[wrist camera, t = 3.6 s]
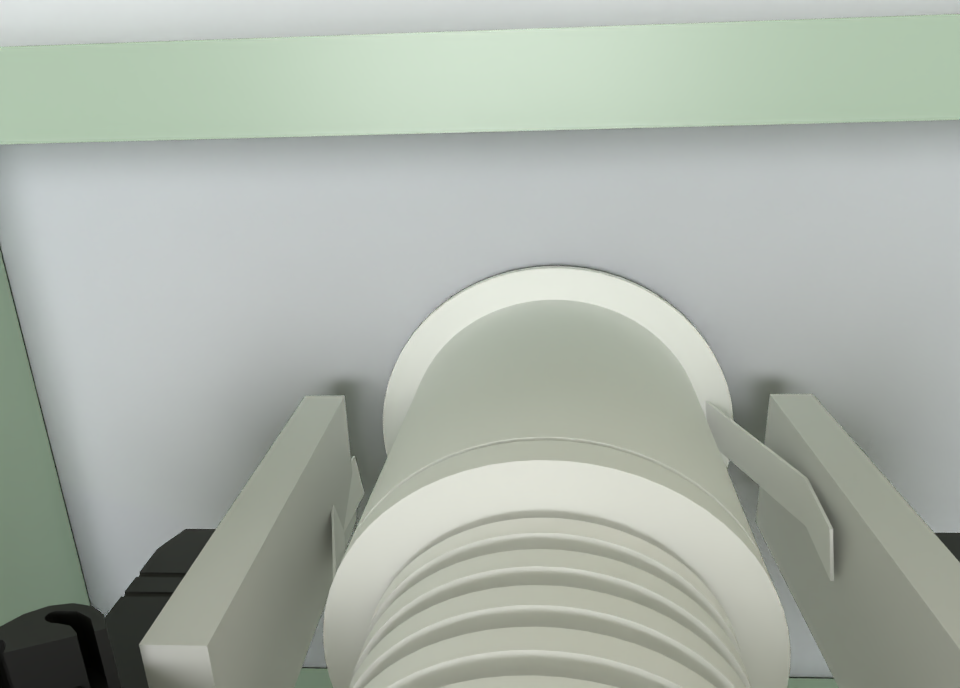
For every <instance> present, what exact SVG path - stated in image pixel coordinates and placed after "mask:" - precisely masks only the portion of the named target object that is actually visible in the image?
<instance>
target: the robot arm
mask: <svg viewBox="0 0 960 688" xmlns="http://www.w3.org/2000/svg"><path fill="white" fill-rule="evenodd" d="M764 445H765V446H767V447H768V448H769V449H771V450H772V451H773V452H774V453H776V454H777V455H778V456H780V457H781V458H782V459H784V460H785V461H786V462H787V463H789V464H790V465H791V466H793V467H794V468H795V469H797V470H798V471H799V472H800V473H802V474H803V475H804V476H806V477H807V478H808V480H809V482H810V484H811V486H812V488H813V490H814V492H815V494H816V496H817V498H818V500H819V502H820V504H821V506H822V508H823V510H824V512H825V514H826V516H827V518H828V520H829V522H830V524H831V526H832V528H833V551H834V581H830V579H829V577H828V575H827V572H826V570H825V568H824V566H823V563H822V561H821V559H820V557H819V555H818V552H817V550H816V548H815V546H814V543H813V541H812V539H811V537H810V534H809V532H808V530H807V528H806V526H805V525H804V524H803V523H801V522H800V521H799V520H798V519H797V518H796V517H795V516H793V515H792V514H791V513H790V512H789V511H788V510H787V509H785V508H784V507H783V506H782V505H781V504H780V503H779V502H777V501H776V500H775V499H774V498H773V497H772V496H771V495H769V494H768V493H767V492H766V491H765V490H764V489H763V488H761V487H760V486H759V495H758V503H757V512H756V521H755V522H756V524H757V526H758V528H759V530H760V532H761V534H762V536H763V538H764V540H765V542H766V544H767V546H768V548H769V550H770V552H771V554H772V556H773V558H774V560H775V562H776V564H777V566H778V568H779V570H780V572H781V574H782V576H783V578H784V580H785V582H786V584H787V586H788V588H789V590H790V592H791V594H792V596H793V598H794V600H795V602H796V604H797V606H798V608H799V610H800V612H801V614H802V615H803V617H804V619H805V621H806V623H807V625H808V627H809V629H810V631H811V633H812V635H813V637H814V639H815V641H816V643H817V645H818V647H819V649H820V651H821V653H822V655H823V657H824V659H825V661H826V663H827V665H828V667H829V669H830V671H831V673H832V675H833V677H834V679H835V681H836V683H837V685H838V687H839V688H960V533H934V532H933V531H932V530H931V529H930V528H929V527H928V526H927V524H926V523H925V522H924V521H923V520H922V519H921V518H920V516H919V515H918V514H917V513H916V512H915V511H914V510H913V508H912V507H911V506H910V505H909V504H908V503H907V501H906V500H905V499H904V498H903V497H902V496H901V495H900V493H899V492H898V491H897V490H896V489H895V488H894V487H893V485H892V484H891V483H890V482H889V481H888V480H887V479H886V477H885V476H884V475H883V474H882V473H881V472H880V471H879V469H878V468H877V467H876V466H875V465H874V464H873V463H872V461H871V460H870V459H869V458H868V457H867V456H866V455H865V453H864V452H863V451H862V450H861V449H860V448H859V447H858V445H857V444H856V443H855V442H854V441H853V440H852V439H851V437H850V436H849V435H848V434H847V433H846V432H845V431H844V429H843V428H842V427H841V426H840V425H839V424H838V423H837V421H836V420H835V419H834V418H833V417H832V416H831V414H830V413H829V412H828V411H827V410H826V409H825V408H824V406H823V405H822V404H821V403H820V402H819V401H818V400H817V398H816V397H815V396H814V395H813V394H770V397H769V406H768V415H767V424H766V433H765V442H764ZM351 478H352V464H351V454H350V444H349V434H348V424H347V414H346V404H345V395H326V396H305V397H304V398H303V400H302V401H301V403H300V404H299V406H298V407H297V409H296V410H295V412H294V413H293V415H292V416H291V418H290V419H289V421H288V422H287V424H286V425H285V427H284V428H283V430H282V431H281V433H280V434H279V436H278V437H277V439H276V440H275V442H274V443H273V445H272V446H271V448H270V449H269V451H268V452H267V454H266V455H265V457H264V458H263V460H262V461H261V463H260V464H259V466H258V467H257V469H256V470H255V472H254V473H253V475H252V476H251V478H250V479H249V481H248V482H247V484H246V485H245V487H244V488H243V490H242V491H241V493H240V494H239V496H238V497H237V499H236V500H235V502H234V503H233V505H232V506H231V508H230V509H229V511H228V512H227V513H226V515H225V516H224V518H223V519H222V521H221V522H220V524H219V525H218V527H217V528H216V529H185V530H184V531H182V532H181V533H179V534H178V535H177V536H175V537H174V538H172V539H171V540H169V541H168V542H167V543H165V544H164V545H162V546H161V547H160V548H158V549H157V550H156V552H155V553H154V554H153V556H152V557H151V558H150V559H149V561H148V562H147V563H146V565H145V566H144V567H143V569H142V570H141V571H140V576H139V577H136V578H135V579H134V580H133V582H132V583H131V584H130V586H129V587H128V588H127V590H126V591H125V596H124V597H121V598H120V599H119V600H118V601H117V603H116V604H115V605H114V607H113V608H112V609H111V611H110V612H109V613H108V615H107V616H106V617H104V615H103V614H102V613H101V612H99V611H98V610H97V609H95V608H94V607H93V606H88V605H82V604H76V603H69V604H60V605H52V606H47V607H44V608H41V609H38V610H35V611H31V612H28V613H25V614H23V615H21V616H19V617H17V618H15V619H13V620H11V621H10V622H8V623H6V624H4V625H2V626H0V688H294V687H295V684H296V682H297V679H298V676H299V674H300V671H301V668H302V666H303V663H304V660H305V657H306V655H307V652H308V649H309V647H310V644H311V641H312V639H313V636H314V633H315V631H316V628H317V625H318V622H319V620H320V617H321V614H322V612H323V609H324V606H325V604H326V601H327V598H328V594H329V590H330V587H331V585H332V582H333V557H332V518H331V510H332V507H333V505H334V506H335V509H336V511H337V514H338V517H339V519H340V522H341V525H342V527H343V530H344V524H345V517H346V511H347V504H348V498H349V491H350V485H351ZM356 520H357V514H356V511H355V513H354V515H353V517H352V519H351V521H350V523H349V524H348V526H347V528H346V530H345V532H344V537H345V550H346V547H347V545H348V542H349V539H350V536H351V534H352V531H353V528H354V526H355V523H356Z"/></svg>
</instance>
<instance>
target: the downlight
mask: <svg viewBox="0 0 960 688" xmlns="http://www.w3.org/2000/svg"><path fill="white" fill-rule="evenodd" d="M383 437H384V444H385V450H386V455H387V460H386V462H385V464H384V466H383V469H382V471H381V473H380V475H379V478H378V480H377V482H376V484H375V487H374V489H373V491H372V494H371V496H370V498H369V500H368V503H367V505H366V507H365V509H364V512H363V514H362V516H361V519H360V521H359V523H358V525H357V528H356V530H355V532H354V534H353V537H352V539H351V541H350V543H349V546H348V548H347V550H346V552H345V537H344V532H345V530H346V528H347V526H348V524H349V523H350V521H351V519H352V517H353V515H354V513H355V511H356V509H357V507H358V505H359V503H360V501H361V500H362V498H363V496H364V490H363V486H362V482H361V478H360V474H359V470H358V466H357V462H356V458H355V456H353V457H352V458H351V464H352V478H351V485H350V491H349V498H348V504H347V511H346V517H345V524H344V530H343V527H342V525H341V522H340V519H339V517H338V514H337V511H336V509H335V506H334V505H333V507H332V510H331V518H332V557H333V582H332V585H331V587H330V590H329V594H328V598H327V602H326V606H325V613H324V621H323V646H324V654H325V661H326V665H327V669H328V673H329V677H330V680H331V683H332V686H333V688H787V686H788V679H789V673H790V655H791V649H790V639H789V631H788V626H787V622H786V618H785V614H784V610H783V608H782V605H781V602H780V600H779V597H778V594H777V592H776V589H775V587H774V585H773V582H772V580H771V578H770V575H769V573H768V570H767V568H766V566H765V563H764V561H763V558H762V556H761V553H760V551H759V548H758V546H757V543H756V541H755V538H754V536H753V533H752V531H751V528H750V526H749V524H748V521H747V519H746V516H745V514H744V511H743V509H742V506H741V504H740V501H739V499H738V496H737V494H736V491H735V489H734V486H733V484H732V482H731V479H730V477H729V474H728V472H727V468H728V465H729V461H732V462H733V463H734V464H735V465H736V466H737V467H738V468H740V469H741V470H742V471H743V472H744V473H745V474H746V475H748V476H749V477H750V478H751V479H752V480H753V481H754V482H756V483H757V484H758V485H759V486H760V487H761V488H763V489H764V490H765V491H766V492H767V493H768V494H769V495H771V496H772V497H773V498H774V499H775V500H776V501H777V502H779V503H780V504H781V505H782V506H783V507H784V508H785V509H787V510H788V511H789V512H790V513H791V514H792V515H793V516H795V517H796V518H797V519H798V520H799V521H800V522H801V523H803V524H804V525H805V526H806V528H807V530H808V532H809V534H810V537H811V539H812V541H813V543H814V546H815V548H816V550H817V552H818V555H819V557H820V559H821V561H822V563H823V566H824V568H825V570H826V572H827V575H828V577H829V579H830V581H834V551H833V528H832V526H831V524H830V522H829V520H828V518H827V516H826V514H825V512H824V510H823V508H822V506H821V504H820V502H819V500H818V498H817V496H816V494H815V492H814V490H813V488H812V486H811V484H810V482H809V480H808V478H807V477H806V476H804V475H803V474H802V473H800V472H799V471H798V470H797V469H795V468H794V467H793V466H791V465H790V464H789V463H787V462H786V461H785V460H784V459H782V458H781V457H780V456H778V455H777V454H776V453H774V452H773V451H772V450H771V449H769V448H768V447H767V446H765V445H764V444H763V443H761V442H760V441H759V440H758V439H756V438H755V437H754V436H752V435H751V434H750V433H748V432H747V431H746V430H745V429H743V428H742V427H741V426H739V425H738V424H737V423H735V422H734V418H733V410H732V402H731V398H730V394H729V389H728V386H727V383H726V380H725V377H724V375H723V372H722V370H721V368H720V366H719V364H718V362H717V360H716V358H715V356H714V354H713V352H712V350H711V349H710V347H709V346H708V344H707V343H706V341H705V339H704V338H703V337H702V336H701V334H700V333H699V332H698V331H697V329H696V328H695V327H694V326H693V325H692V324H691V323H690V322H689V321H688V320H687V318H686V317H685V316H684V315H683V314H682V313H680V312H679V311H678V310H677V309H676V308H674V307H673V306H672V305H671V304H669V303H668V302H667V301H665V300H664V299H662V298H661V297H659V296H658V295H656V294H655V293H653V292H651V291H650V290H648V289H646V288H644V287H642V286H640V285H638V284H636V283H634V282H631V281H629V280H626V279H624V278H622V277H619V276H615V275H612V274H609V273H605V272H602V271H597V270H592V269H587V268H580V267H570V266H542V267H531V268H524V269H519V270H514V271H509V272H506V273H502V274H499V275H495V276H492V277H490V278H487V279H485V280H482V281H480V282H477V283H475V284H473V285H472V286H470V287H468V288H466V289H464V290H462V291H460V292H459V293H457V294H456V295H454V296H453V297H451V298H450V299H448V300H447V301H445V302H444V303H443V304H442V305H440V306H439V307H438V308H437V309H435V310H434V311H433V312H432V313H431V314H430V315H429V316H428V317H427V318H426V319H425V320H424V321H423V322H422V323H421V325H420V326H419V327H418V328H417V330H416V331H415V332H414V333H413V334H412V336H411V337H410V339H409V340H408V342H407V344H406V345H405V347H404V348H403V350H402V352H401V354H400V356H399V358H398V360H397V362H396V364H395V366H394V368H393V371H392V374H391V376H390V379H389V382H388V386H387V390H386V394H385V400H384V407H383Z"/></svg>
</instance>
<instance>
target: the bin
mask: <svg viewBox="0 0 960 688" xmlns="http://www.w3.org/2000/svg"><path fill="white" fill-rule="evenodd" d="M928 120H960V14H944V15H915V16H886V17H857V18H828V19H799V20H770V21H741V22H712V23H682V24H653V25H624V26H595V27H566V28H537V29H508V30H479V31H450V32H421V33H391V34H362V35H333V36H304V37H275V38H246V39H217V40H188V41H159V42H130V43H100V44H71V45H42V46H13V47H0V144H35V143H74V142H113V141H152V140H191V139H229V138H268V137H307V136H346V135H385V134H424V133H462V132H501V131H540V130H579V129H618V128H657V127H695V126H734V125H773V124H812V123H851V122H890V121H928ZM69 603H76V604H82V605H88V606H90V603H89V599H88V595H87V591H86V587H85V583H84V579H83V575H82V571H81V567H80V563H79V559H78V555H77V551H76V547H75V543H74V540H73V536H72V532H71V528H70V524H69V520H68V516H67V512H66V508H65V504H64V500H63V496H62V492H61V488H60V484H59V480H58V476H57V472H56V469H55V465H54V461H53V457H52V453H51V449H50V445H49V441H48V437H47V433H46V429H45V425H44V421H43V417H42V413H41V409H40V405H39V402H38V398H37V394H36V390H35V386H34V382H33V378H32V374H31V370H30V366H29V362H28V358H27V354H26V350H25V346H24V342H23V338H22V335H21V331H20V327H19V323H18V319H17V315H16V311H15V307H14V303H13V299H12V295H11V291H10V287H9V283H8V279H7V275H6V271H5V268H4V264H3V260H2V256H1V252H0V626H2V625H4V624H6V623H8V622H10V621H11V620H13V619H15V618H17V617H19V616H21V615H23V614H25V613H28V612H31V611H35V610H38V609H41V608H44V607H47V606H52V605H60V604H69ZM294 688H333V686H332V683H331V680H330V677H329V673H328V669H314V668H301V671H300V674H299V676H298V679H297V682H296V684H295V687H294ZM787 688H839V687H838V685H837V683H836V681H835V679H813V678H789V679H788V686H787Z"/></svg>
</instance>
